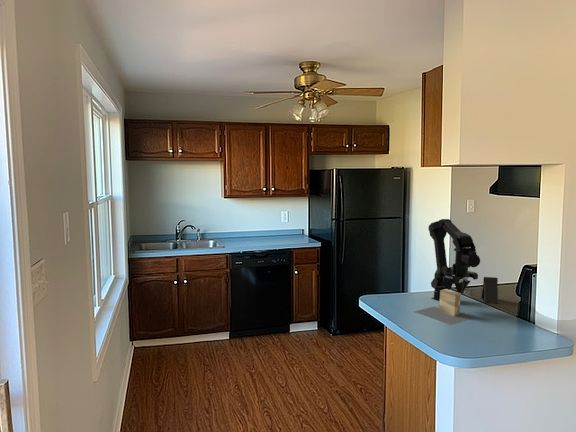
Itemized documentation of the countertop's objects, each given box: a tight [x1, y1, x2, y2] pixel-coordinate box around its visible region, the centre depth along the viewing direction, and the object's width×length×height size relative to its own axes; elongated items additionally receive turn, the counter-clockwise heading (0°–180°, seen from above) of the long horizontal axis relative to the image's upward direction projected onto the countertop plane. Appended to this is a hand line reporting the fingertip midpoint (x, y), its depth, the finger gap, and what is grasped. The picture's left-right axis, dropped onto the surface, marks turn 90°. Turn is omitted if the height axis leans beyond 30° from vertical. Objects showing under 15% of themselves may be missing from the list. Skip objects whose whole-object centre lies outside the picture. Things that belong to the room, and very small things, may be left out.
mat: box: [413, 305, 472, 326], centre depth 206 cm, size 15×20×1 cm
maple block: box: [438, 289, 462, 316], centre depth 208 cm, size 4×8×10 cm, turn 35°
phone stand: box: [480, 276, 499, 304], centre depth 230 cm, size 9×6×12 cm, turn 170°
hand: (459, 295), depth 212 cm, fingers closed
